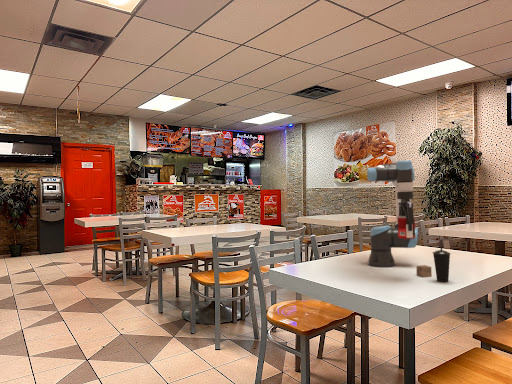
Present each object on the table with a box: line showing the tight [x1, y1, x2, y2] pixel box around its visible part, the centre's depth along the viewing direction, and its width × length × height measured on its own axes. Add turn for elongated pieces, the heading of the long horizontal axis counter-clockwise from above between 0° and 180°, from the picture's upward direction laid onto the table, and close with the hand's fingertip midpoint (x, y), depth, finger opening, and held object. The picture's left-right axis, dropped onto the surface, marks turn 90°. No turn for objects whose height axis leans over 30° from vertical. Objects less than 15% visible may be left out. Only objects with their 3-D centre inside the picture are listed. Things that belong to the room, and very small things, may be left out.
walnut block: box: [416, 264, 433, 278], centre depth 183 cm, size 5×5×5 cm
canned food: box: [396, 216, 416, 239], centre depth 178 cm, size 8×8×11 cm
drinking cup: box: [432, 239, 451, 283], centre depth 171 cm, size 8×8×20 cm
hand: (406, 236), depth 178 cm, fingers closed on canned food, 8 cm apart
